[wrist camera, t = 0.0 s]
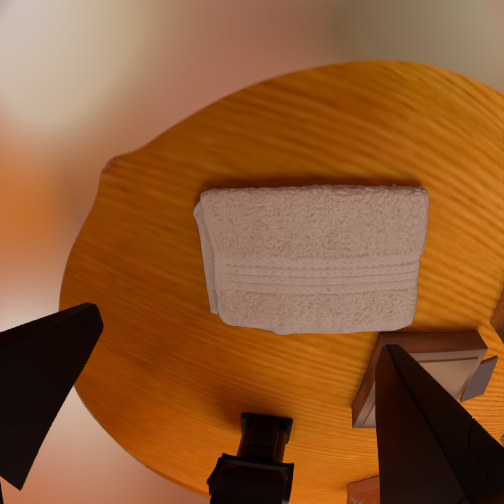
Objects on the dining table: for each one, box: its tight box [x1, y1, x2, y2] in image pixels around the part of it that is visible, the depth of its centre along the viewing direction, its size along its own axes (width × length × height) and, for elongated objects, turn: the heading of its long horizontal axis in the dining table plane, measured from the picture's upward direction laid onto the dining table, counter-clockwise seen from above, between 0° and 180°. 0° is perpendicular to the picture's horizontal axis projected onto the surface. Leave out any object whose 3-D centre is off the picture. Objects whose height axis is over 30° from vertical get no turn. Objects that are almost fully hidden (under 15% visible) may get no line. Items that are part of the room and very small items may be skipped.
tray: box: [352, 331, 488, 428], centre depth 23 cm, size 12×12×3 cm
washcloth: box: [193, 184, 429, 335], centre depth 21 cm, size 12×18×3 cm, turn 96°
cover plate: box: [460, 356, 498, 403], centre depth 23 cm, size 7×4×1 cm, turn 15°
